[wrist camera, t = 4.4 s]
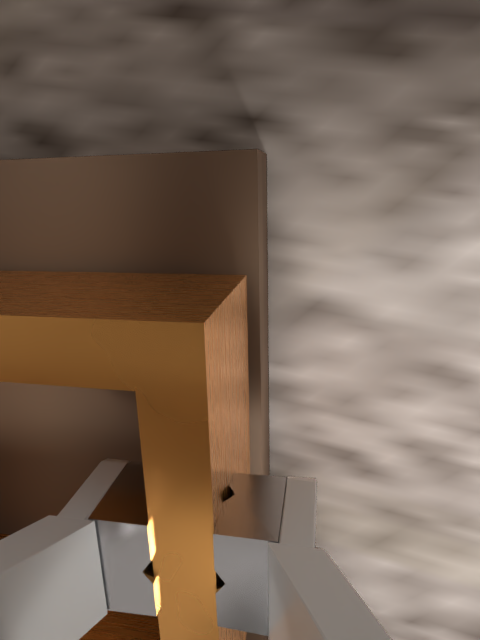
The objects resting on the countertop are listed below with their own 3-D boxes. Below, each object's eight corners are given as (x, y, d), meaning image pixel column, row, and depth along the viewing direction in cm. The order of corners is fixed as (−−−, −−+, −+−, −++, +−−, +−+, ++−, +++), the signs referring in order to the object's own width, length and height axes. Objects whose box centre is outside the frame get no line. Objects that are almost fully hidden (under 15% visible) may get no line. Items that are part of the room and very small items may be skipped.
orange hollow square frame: (246, 274, 8) (204, 323, 5) (252, 602, 11) (224, 754, 8) (-110, 268, 10) (-287, 304, 7) (-35, 556, 12) (-145, 669, 9)
